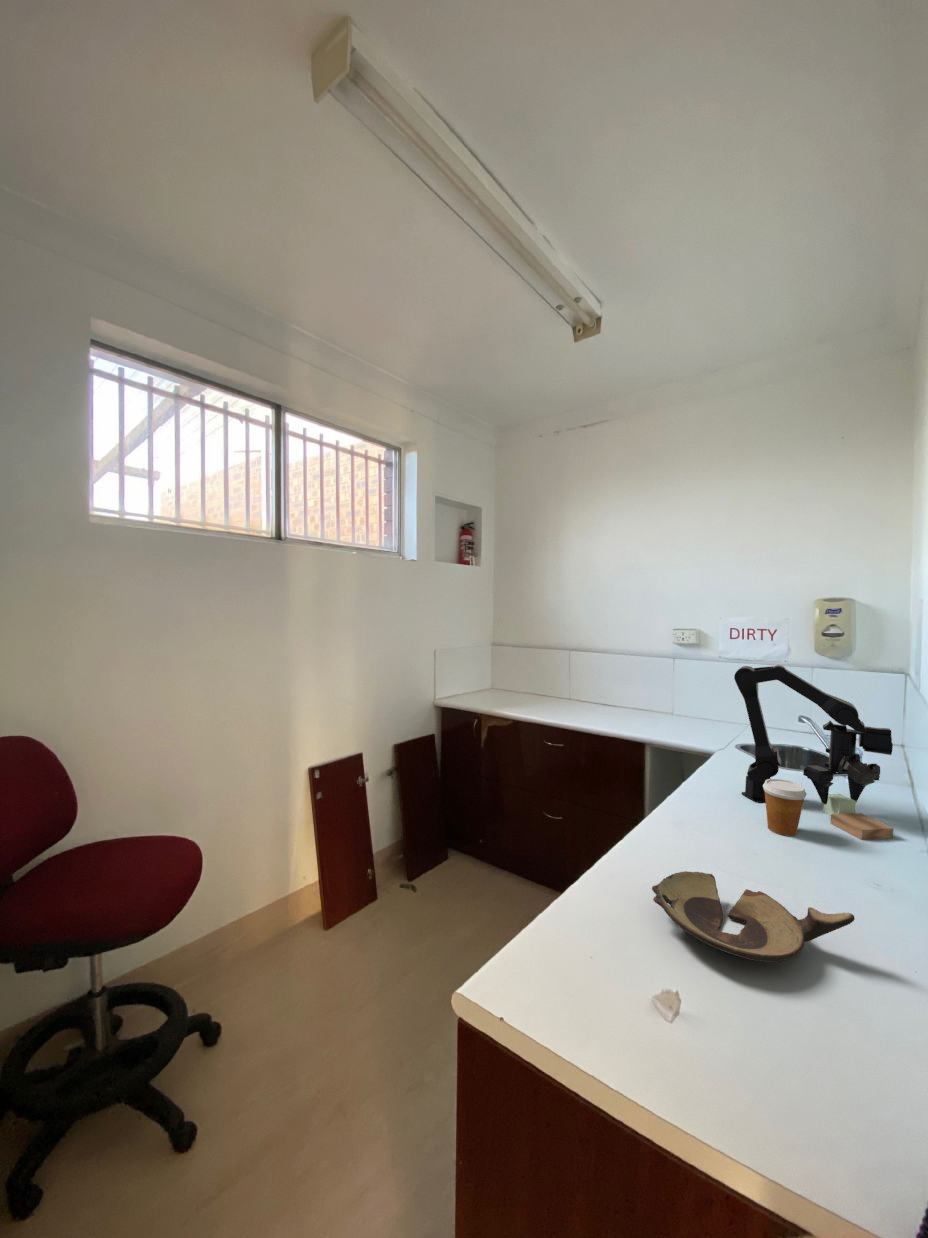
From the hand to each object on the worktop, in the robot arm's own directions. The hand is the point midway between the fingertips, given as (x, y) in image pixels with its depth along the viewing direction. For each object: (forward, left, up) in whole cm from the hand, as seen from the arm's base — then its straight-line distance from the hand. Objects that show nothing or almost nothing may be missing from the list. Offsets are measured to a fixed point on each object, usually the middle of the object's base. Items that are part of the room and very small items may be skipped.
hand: (839, 803), depth 140 cm
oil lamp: (-62, -44, -4) cm, 77 cm away
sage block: (0, 0, -3) cm, 3 cm away
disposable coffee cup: (-23, -7, -4) cm, 25 cm away
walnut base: (-2, -9, -3) cm, 10 cm away
